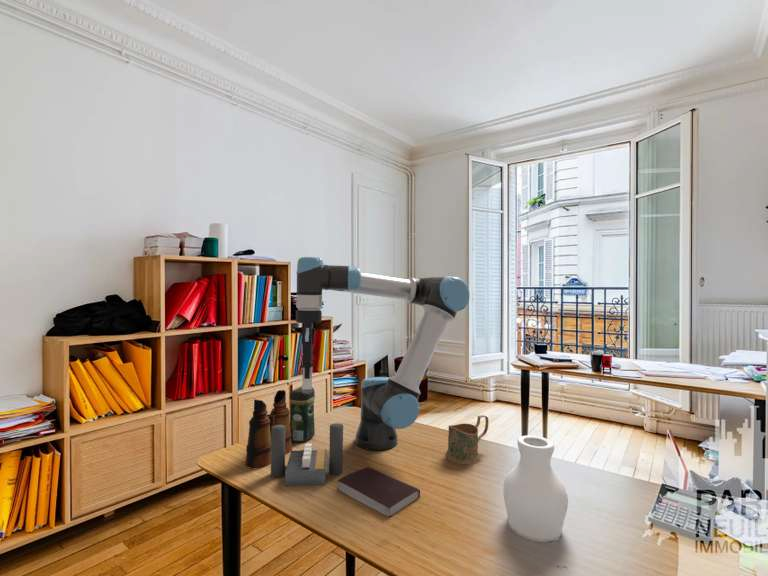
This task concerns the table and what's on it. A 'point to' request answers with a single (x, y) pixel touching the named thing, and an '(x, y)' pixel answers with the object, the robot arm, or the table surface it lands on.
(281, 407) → the binoculars
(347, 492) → the book
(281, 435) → the post
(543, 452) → the vase
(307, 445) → the row of white cubes
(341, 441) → the post
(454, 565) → the table surface
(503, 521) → the table surface
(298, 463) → the breaker box
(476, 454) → the weathered metal jug
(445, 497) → the table surface
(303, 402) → the coffee jar
